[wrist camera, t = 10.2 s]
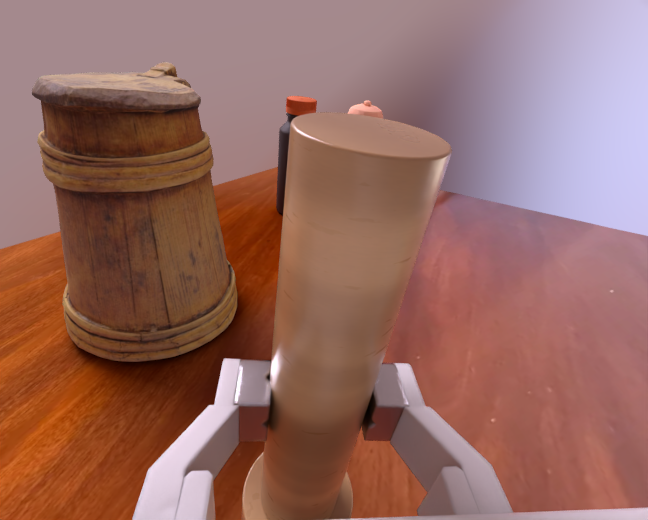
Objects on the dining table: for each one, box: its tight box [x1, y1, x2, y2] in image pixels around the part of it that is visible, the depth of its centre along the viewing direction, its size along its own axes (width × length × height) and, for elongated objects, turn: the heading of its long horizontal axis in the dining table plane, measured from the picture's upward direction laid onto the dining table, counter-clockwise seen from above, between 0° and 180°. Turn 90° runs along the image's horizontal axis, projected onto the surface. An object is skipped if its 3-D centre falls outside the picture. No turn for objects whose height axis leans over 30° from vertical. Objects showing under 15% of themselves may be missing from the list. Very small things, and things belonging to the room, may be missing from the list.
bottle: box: [276, 96, 317, 214], centre depth 63 cm, size 7×7×20 cm
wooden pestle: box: [242, 112, 452, 520], centre depth 11 cm, size 4×4×17 cm
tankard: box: [32, 62, 237, 362], centre depth 38 cm, size 18×24×25 cm
